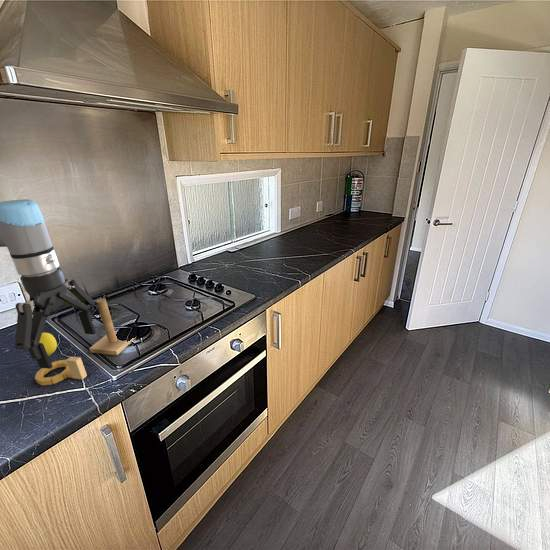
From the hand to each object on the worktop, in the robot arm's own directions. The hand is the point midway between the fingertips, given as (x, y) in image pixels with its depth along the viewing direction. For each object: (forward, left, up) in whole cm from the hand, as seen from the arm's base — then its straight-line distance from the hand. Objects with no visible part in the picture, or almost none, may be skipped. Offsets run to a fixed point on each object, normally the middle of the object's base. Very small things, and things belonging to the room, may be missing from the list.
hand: (70, 349), depth 74 cm
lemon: (-17, +6, -9) cm, 20 cm away
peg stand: (-1, +14, -9) cm, 17 cm away
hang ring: (-5, 0, -9) cm, 10 cm away
